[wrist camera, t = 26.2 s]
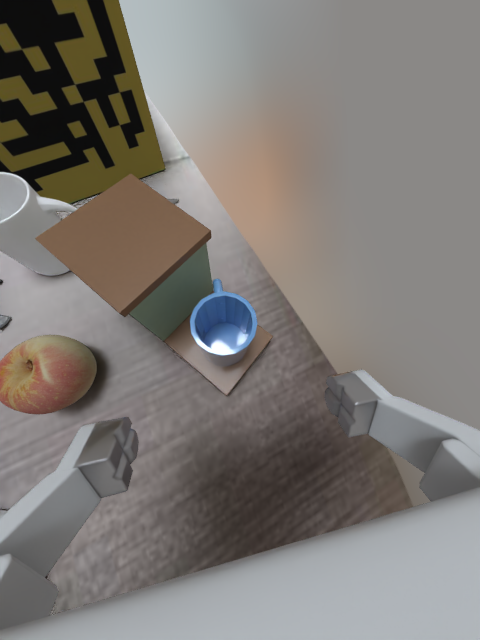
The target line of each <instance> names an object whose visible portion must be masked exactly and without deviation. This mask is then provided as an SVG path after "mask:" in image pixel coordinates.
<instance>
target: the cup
mask: <svg viewBox="0 0 480 640" xmlns="http://www.w3.org/2000/svg"><path fill="white" fill-rule="evenodd" d="M213 289H214V293H212V294H211V295H209V296H207V297H205V298H203V299H202V300H201V301H200V302H199V303H198V304H197V305H196V307H195V308H194V309H193V312H192V315H191V318H190V328H191V334H192V336H193V338H194V339H195V341H196V343H197V344H198V346H199V348H200V349H201V351H202V352H203V354H204V356H205V357H206V358H207V359H208V360H209V361H210V362H211V363H213V364H215V365H218V366H223V367H226V366H232V365H234V364H236V363H238V362H239V361H240V360H242V359H243V357H244V356H245V354H246V353H247V351H248V349H249V347H250V345H251V343H252V341H253V339H254V337H255V333H256V328H257V319H256V314H255V311H254V309H253V308H252V306H251V305H250V303H249V302H248V301H247V300H245V299H244V298H242V297H241V296H239V295H237V294H234V293H229V292H223V287H222V282H221V280H220V279H215V280H214V281H213Z"/></svg>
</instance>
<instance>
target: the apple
mask: <svg viewBox="0 0 480 640" xmlns="http://www.w3.org/2000/svg"><path fill="white" fill-rule="evenodd" d="M96 371H97V365H96V360H95V358H94V356H93V354H92V353H91V351H90V350H89V349H88V348H87V347H86V346H85V345H83V344H82V343H80V342H79V341H77V340H74V339H72V338H69V337H65V336H60V335H43V336H38V337H34V338H31V339H29V340H27V341H24V342H22V343H21V344H19V345H17V346H16V347H15V348H14V349H12V350H11V351H10V352H9V353H8V354H7V355H6V356H5V357H4V358H3V359H2V360H1V361H0V401H1V402H2V403H3V404H4V405H6V406H8V407H9V408H12V409H14V410H17V411H20V412H24V413H29V414H46V413H52V412H55V411H58V410H61V409H63V408H65V407H67V406H69V405H71V404H73V403H74V402H76V401H77V400H79V399H80V398H81V397H82V396H83V395H85V393H86V392H87V391H88V390H89V388H90V387H91V385H92V383H93V381H94V379H95V376H96Z"/></svg>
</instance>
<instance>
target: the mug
mask: <svg viewBox="0 0 480 640" xmlns="http://www.w3.org/2000/svg"><path fill="white" fill-rule="evenodd" d="M76 210H77V208H76V207H74V206H72V205H70V204H68V203H65V202H62V201H59V200H55V199H51V198H46V197H40V196H39V195H38V194H37V193H36V192H35V190H34V189H33V188H32V187H31V186H30V185H29V184H28V183H27V182H26V181H25V180H24V179H23V178H21V177H19V176H17V175H15V174H11V173H6V172H0V251H2V252H3V253H5V254H7V255H8V256H10V257H11V258H13V259H15V260H16V261H18V262H19V263H21V264H23V265H24V266H26V267H27V268H29V269H31V270H33V271H34V272H37V273H39V274H42V275H60V274H63V273H66V272H68V271H70V269H69V268H67V267H66V266H65V265H64V264H63V263H62V262H61V261H60V260H58V259H57V258H56V257H55V256H54V255H53V254H52V253H50V252H49V251H48V250H47V249H46V248H45V247H44V246H42V245H41V244H40V243H39V242H38V241H37V240H36V239H35V238H36V237H38V236H39V235H40V234H42V233H43V232H45V231H46V230H48V229H49V228H51V227H52V226H54V225H55V224H57V223H58V222H60V221H61V220H62V219H61V218H60V217H59V216H58V214H57V213H56V212H58V211H67V212H72V213H73V212H75V211H76Z"/></svg>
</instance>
